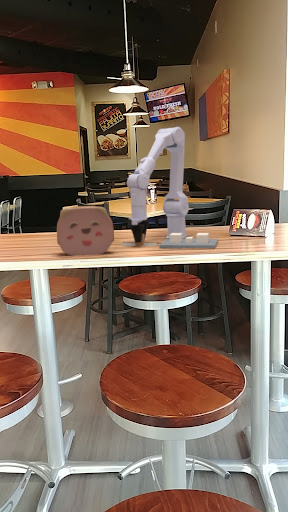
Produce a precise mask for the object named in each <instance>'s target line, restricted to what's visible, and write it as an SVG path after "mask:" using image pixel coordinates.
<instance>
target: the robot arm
mask: <svg viewBox="0 0 288 512" xmlns="http://www.w3.org/2000/svg"><path fill="white" fill-rule="evenodd" d="M185 137H186V133H185V131H184V130H183V129H182V128H181V127H179V126H175V127H168V128H167V127H166V128H160V129H159V130H158V131H157V132H156V134H155V136H154V139H155V141H154V142H153V144H152V146H151V148H150V151H149V152H148V154H147V156H145V157H143V158H141V159H140V161H139V164H138V165H137V167H136V169H135V170H134V172H133V173H131V174H130V175H129V176H128V177H127V181H126V186H127V187H128V191H129V193H130V208H131V209H130V210H131V212H130V213H131V216H130V217H128V220H131V223H129V224H128V227H129V229H130V230H131V232H132V236H133V240H134V242H135V243H141V239H142V234H144V235H145V238H146V236H147V230H148V227H149V225H150V220H148V216H147V191H146V190H147V187H149V184H150V178H151V175H152V173H153V171H155V168H156V165H157V164H156V161H157V159H158V157H159V156H160V155H161V154H162V152H163V151H164V149H166V150H168V151H169V152H170V171H169V191H168V192H167V194H166V195H165V196H164V201H163V205H162V210H163V211H162V212H163V213H164V214H165V216H166V217H167V220H166V221H167V223H166V224H167V236H165V237H164V238H165V239H170V234H171V233H182V239H185V238H186V237H188V235H189V234H188V233H186V219H185V218H186V216H187V214H188V213H189V209H190V206H189V202H188V201H189V198H188V196H187V195H185V193H184V192H183V191H184V190H183V189H184V171H185V168H184V167H185V150H186V149H185V144H186V143H185V139H186V138H185Z"/></svg>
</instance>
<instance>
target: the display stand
mask: <svg viewBox="0 0 288 512" xmlns="http://www.w3.org/2000/svg"><path fill="white" fill-rule="evenodd" d="M195 236H196V238H194V237H193V236H186V237H185V238H182V233H171V234H170V238H165V240H163V241H162V242H161V243H160V244H158V246H159V249H182V248H215V249H216V247H217V244H218V243H219V239H218V238H210V233H209V232H198V233H196V235H195Z"/></svg>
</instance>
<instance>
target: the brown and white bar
mask: <svg viewBox="0 0 288 512" xmlns="http://www.w3.org/2000/svg"><path fill="white" fill-rule="evenodd" d="M121 246H122V247H123V246H128V247H129V246H130V247H131V246H135V247H136V246H143V247H144V246H146V247H147V246H149V247H156V246H159V241H146V237H145V235H144V234H142V239H141V243H135V241H122V243H121Z"/></svg>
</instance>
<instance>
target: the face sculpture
mask: <svg viewBox="0 0 288 512" xmlns="http://www.w3.org/2000/svg"><path fill="white" fill-rule="evenodd" d="M56 240H57V241H56V242H57V244H58V246H59V248H60V249H61V251H62V252H63V253H65V254H66V255H68V256H70V257H77V256H76V255H81V256H92V255H93V256H94V255H95V254H98V255H103V254H105V253H106V252H107V251H108V250H109V248H110V247H111V246H112V244H113V242H114V241H115V230H114V224H113V220H112V218H111V217H110V216H109V214H108V212H107V209H106V208H105V207H102V206H96V205H83V206H82V205H81V206H79V205H78V206H77V205H76V206H73V207H65V208H63V209H61V210H60V214H59V218H58V220H57V224H56Z"/></svg>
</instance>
